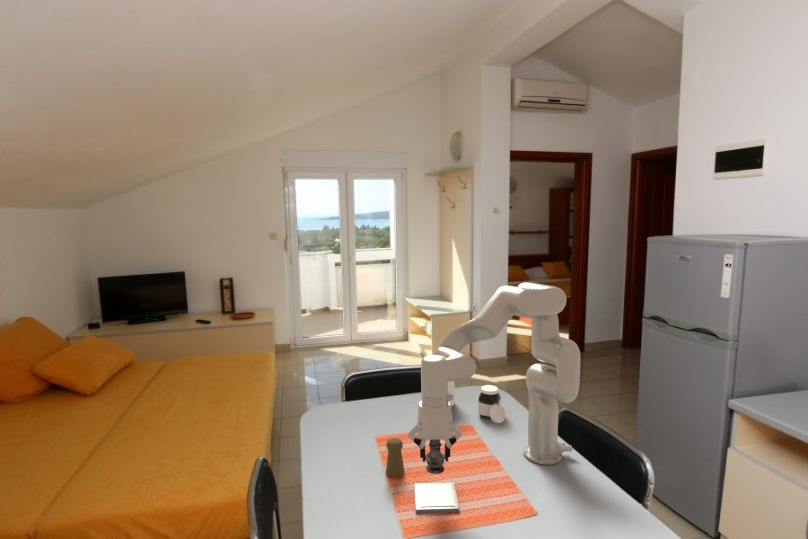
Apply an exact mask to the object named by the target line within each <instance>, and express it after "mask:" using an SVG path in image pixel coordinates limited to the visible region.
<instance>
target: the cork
mask: <svg viewBox="0 0 808 539" xmlns="http://www.w3.org/2000/svg"><path fill="white" fill-rule="evenodd" d="M403 445H404V444H403V441H402V439H400V438H398V437H390V438H389V439H388V440H387V441H386V446H385V447H386V449H387V460H386V468H385V475H387V476H388V477H390V478H393V479H395V478H400V477H402V476H403V475H405V466H404V459H403V453H402V449H403Z"/></svg>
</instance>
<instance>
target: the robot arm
mask: <svg viewBox="0 0 808 539" xmlns="http://www.w3.org/2000/svg"><path fill="white" fill-rule="evenodd" d="M566 304H567V295H566V292H564V290H563V289H561V288H560V287H557V286H554V285H548V284H542V283H537V282H526V281H525V282H522V283H519V284H518V285H517V286H514V285H502V286H500V287H498V288H497V289H496V290H495V292H494V293H493V294H492V295H491V296H490V298H489V299H488V301H486V303H485V304H484V306H482V308H480V310H479V312H478V313H477V314H476V316H475V317H474V318H472V319H470V320H469V321H467V322H465V323H463V324H461V325H459V326H458V327H456V328H454V329H453V330H451V331H450V332H449V333H447V335H446V336H445V337H444V338H443V340H441V342H440V343H439V344H438V345H437V347H436V349H435V351H434V352H433V354H430V355H425V356H424V357H422V359H421V361H420V380H421V381H420V383H421V384H420V386H421V388H420V389H421V392H420V394H421V395H420V397H421V401H419V402H418V407H417V414H416V415H417V416H416V425H415V426H413V428H412V429H411V430H410V431H409V432H408V434H407V435H408V436H407V438H409V439H410V440H411V441H412V442H413V443H414V444H416V445H417V447H419V454H420V455H419V458H420V459H422V463H426V459H425V456H426V442H427V441H430V440H440V441H441V440H444V442H445V443H444V455H445V460H444V461H445V462H446V463H448V462H449V458H451V448H452V447H453V446H454V445H455V444H456V442H457V441H458V440H459V439H460V438H462V437H463V434H462V431H461V430H460V429H459V428H457V426H455V424H454V423H453V420H454V419H453V412H452V411H453V410H452V407H451V404H450V402H449V400H453V395H449V394H448V382H449V381H454V382H462V381H467V380H469V379H471V378H472V377H473V376H474V375H475V373H476V371H477V363H476V361H475V359H474V358H472V357H471V356H470V355H468V354H466V353H463V352H462V350H463V349H464V348H466V347H467V346H469V345H470V344H473V343H478V342H482V341H486V340H491V339H494V338H497V337H498V335H499V334H501V332H502V330H503V329H504V328H505V326H506V325H507V324H508V322H509V321H510V320H511V319H512V318H513V317H514V316H517V317H521V318H526V319H527V318H529V319H531V320H530V321H531V322H530V323H531V336H530V337H531V339H530V340H531V341H530V342H531V345H530V348H531V354H532V356H533V358H535V360H538V361H540V362H541V363H539V362H538V363H534V364H532V365H530V366H529V367H528V369H527V371H526V374H525V383H526V387H527V394H528V424H527V425H528V430H527V431H528V432H527V433H528V434H527V439H528V440H527V444H526V445H525V446H524V447H523V452H522V453H523V456H524V457H525V458H526V459H528V461H529V462H532V463H535V464H539V465H544V466H546V465H547V466H550V465H555V464H558V463H560V462H561V461H562V459H563V452H568V453H569V452H573V447H572V445H570V444H569V445H566V442H559V441H558V440H559V439H558V436H559V432H558V431H559V430H558V429H559V428H558V427H559V403H562V404H570V403H572V402H574V400H576V399H577V396H578V394H579V391H580V382H581V381H580V376H581V351H580V348H579V345H578V344H577V343H576V342H575V341H573V340H572V339H570V338H566V337H562V336H560V332H559V331H560V329H559V326H560V325H559V324H560V321H559V317H558V314H560V313H561V312H562V311H563V310H564V308H565V307H566V306H567V305H566ZM542 362H543V363H542ZM553 366H554V367H553ZM416 434H417V436H416Z"/></svg>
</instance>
